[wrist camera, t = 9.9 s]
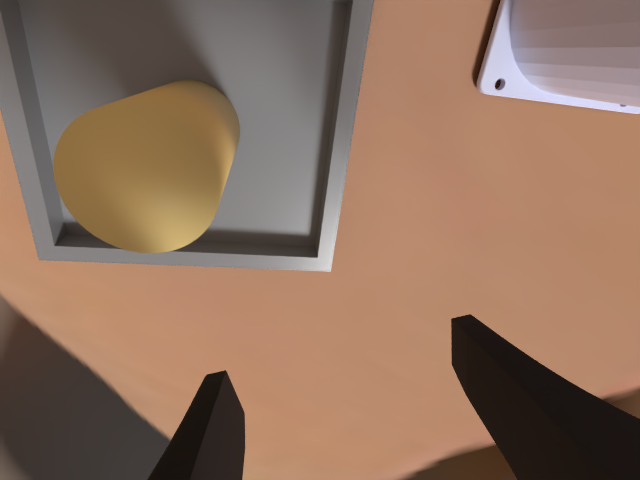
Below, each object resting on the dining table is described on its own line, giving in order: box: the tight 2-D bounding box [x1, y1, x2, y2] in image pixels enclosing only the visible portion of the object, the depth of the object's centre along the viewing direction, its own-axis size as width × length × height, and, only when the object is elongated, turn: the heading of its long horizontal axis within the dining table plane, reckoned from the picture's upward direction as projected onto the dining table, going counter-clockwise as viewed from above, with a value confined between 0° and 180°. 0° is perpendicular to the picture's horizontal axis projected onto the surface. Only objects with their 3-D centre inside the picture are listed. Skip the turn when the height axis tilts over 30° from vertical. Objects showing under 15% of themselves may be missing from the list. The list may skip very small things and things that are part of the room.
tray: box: [0, 0, 374, 271], centre depth 16 cm, size 14×13×2 cm
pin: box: [53, 80, 240, 253], centre depth 13 cm, size 4×4×8 cm
